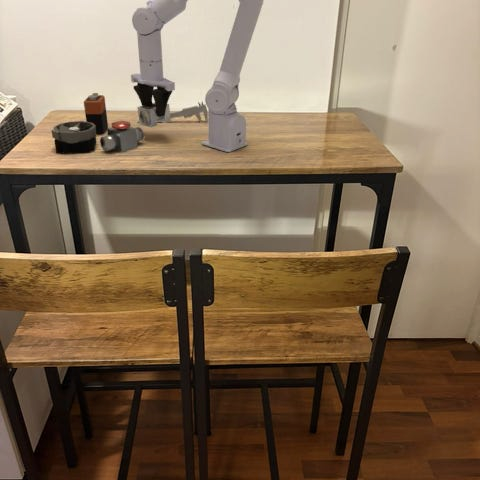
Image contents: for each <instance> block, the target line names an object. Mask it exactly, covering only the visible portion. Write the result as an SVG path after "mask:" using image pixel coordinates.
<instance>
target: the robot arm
mask: <svg viewBox="0 0 480 480" xmlns="http://www.w3.org/2000/svg"><path fill="white" fill-rule="evenodd" d="M188 1H189V0H147V1H146V6H145V7H143V6H142V7H138V8H136V11H134V13H133V15H132V16H131V17H132V18H131V22H132V26H133V29H134V30H135V31H136V36H137V45H138V47H137V48H138V49H137V50H138V60H139V61H138V62H139V73H133V74H130V80H131V81H130V82H131V83H134V84H135V83H137V84H136V85H133V90H134V91H135V93H136V95H137V96H138V98H139V100H140V103H141V106H148V107H152V103H153V100H154V103H155V105H156V113H157V117H161V116H165V112H166V106H167V104H169V99H170V97H171V95H172V93H173V91H175V90H176V86H175V83H176V82H174V81H171V80H169V79H167V78H165V77H164V71H163V70H164V66H163V50H162V49H163V48H162V35H161V34H162V33H161V32H162V29H163V28H164V26H165V25H166V24H168V23H169V22H170V21H172V20H173V19H175V18H176V17H178V15H180V14H181V13H183V12H184V11H186V8H187V2H188ZM238 2H239V5H238V9H237V12H236V15H235V18H234V22H233V24H232V27H231V31H230V35H229V38H228V41H227V45H226V48H225V51H224V54H223V58H222V60H221V65H220V67H219V71H218V72H217V74H216V77H215V78H214V79H213V83H212V86H211V87H210V88H209V89H208V90H207V91H206V94H205V97H204V102H205V105H206V108H207V111H208V121H207V122H208V123H207V124H208V139H207V140H205V141H202V142H201V145H204V146H206V147H210V148H213V149H216V150H220V151H222V152H223V151H224V152H226V153H230V152H233V151H236V150H238V149H241V148H243V147H245V146H248V142H247V121H246V118H245V116H243V115H242V114H240V113H239V112H238V110H237V109H238V108H237V105H236V102H237V101H238V99H239V96H240V91H239V89H240V88H239V86H240V85H239V84H240V82H241V77H240V76H241V75H240V74H241V72H242V69H243V65H244V62H245V59H246V56H247V53H248V51H249V48H250V44H251V42H252V39H253V38H252V37H253V34H254V32H255V28H256V26H257V23H258V20H259V17H260V14H261V11H262V7H263V5H264V0H238Z"/></svg>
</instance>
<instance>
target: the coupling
mask: <svg viewBox="0 0 480 480" xmlns="http://www.w3.org/2000/svg"><path fill="white" fill-rule="evenodd" d="M136 108H137V117H138V121H139V123H138V125H140V126H144V127H149V128H154V127H157V125H158V123H164V124H167V123H170V122H171V121H172V120H171V118H170V113H171V110H170V103H167V106H166V112H165V116H161V117H157V113H156V105H155V102H152V107H148V106H142V105H139V106H137V107H136ZM157 122H158V123H157Z"/></svg>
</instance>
